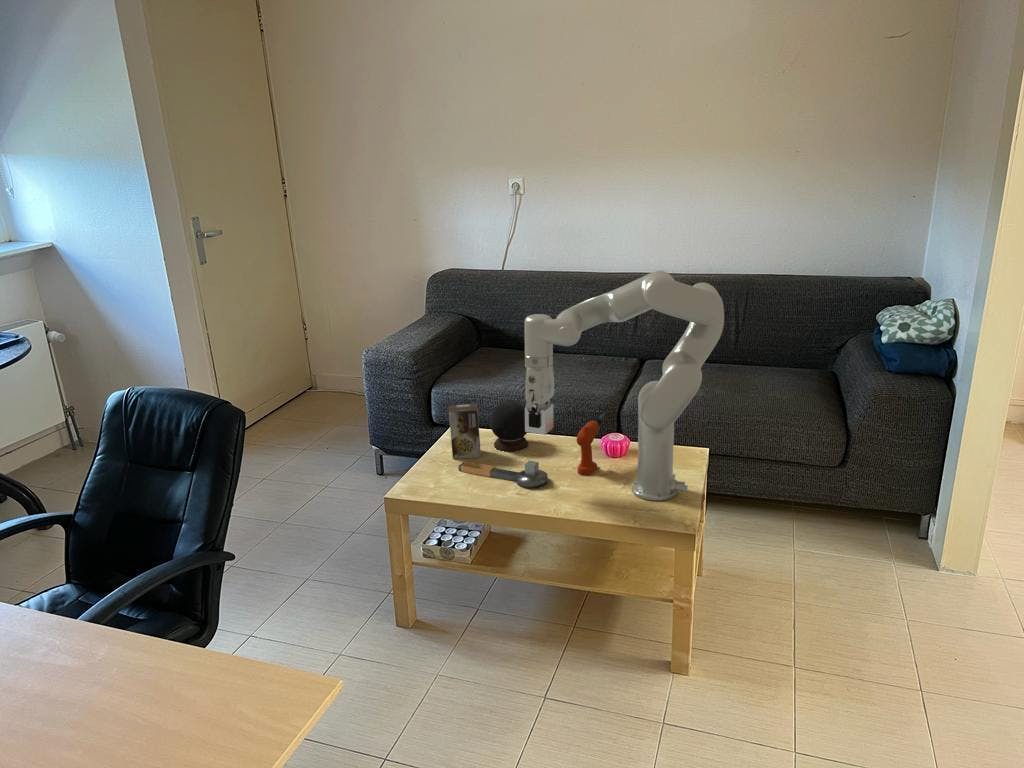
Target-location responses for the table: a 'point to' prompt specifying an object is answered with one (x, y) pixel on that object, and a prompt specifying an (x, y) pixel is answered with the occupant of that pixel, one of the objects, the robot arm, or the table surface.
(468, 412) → the coffee box
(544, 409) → the socket
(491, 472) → the ratchet
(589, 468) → the toy drill
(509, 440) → the black ball on stand
